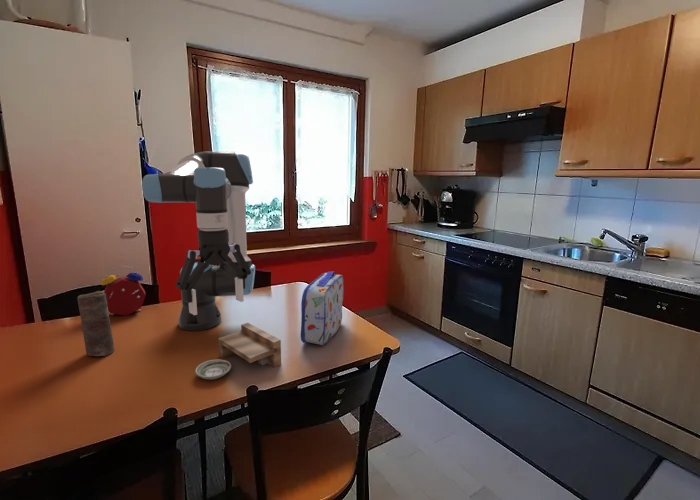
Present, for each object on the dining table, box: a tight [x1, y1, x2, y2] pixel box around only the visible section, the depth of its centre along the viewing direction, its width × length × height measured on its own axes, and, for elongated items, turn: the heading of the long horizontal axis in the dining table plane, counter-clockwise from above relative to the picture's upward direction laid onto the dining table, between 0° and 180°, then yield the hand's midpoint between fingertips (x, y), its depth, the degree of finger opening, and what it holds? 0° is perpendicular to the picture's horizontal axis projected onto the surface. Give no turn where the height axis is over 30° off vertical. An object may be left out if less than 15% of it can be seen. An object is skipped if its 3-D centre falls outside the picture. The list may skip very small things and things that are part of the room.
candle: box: [77, 290, 115, 357], centre depth 114 cm, size 8×7×20 cm
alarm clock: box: [100, 265, 146, 316], centre depth 146 cm, size 15×9×20 cm, turn 121°
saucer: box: [194, 358, 232, 380], centre depth 105 cm, size 10×10×2 cm
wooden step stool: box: [218, 322, 282, 368], centre depth 113 cm, size 18×10×8 cm, turn 47°
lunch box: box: [299, 271, 344, 346], centre depth 131 cm, size 28×10×22 cm, turn 168°
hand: (217, 306), depth 99 cm, fingers open, 13 cm apart
